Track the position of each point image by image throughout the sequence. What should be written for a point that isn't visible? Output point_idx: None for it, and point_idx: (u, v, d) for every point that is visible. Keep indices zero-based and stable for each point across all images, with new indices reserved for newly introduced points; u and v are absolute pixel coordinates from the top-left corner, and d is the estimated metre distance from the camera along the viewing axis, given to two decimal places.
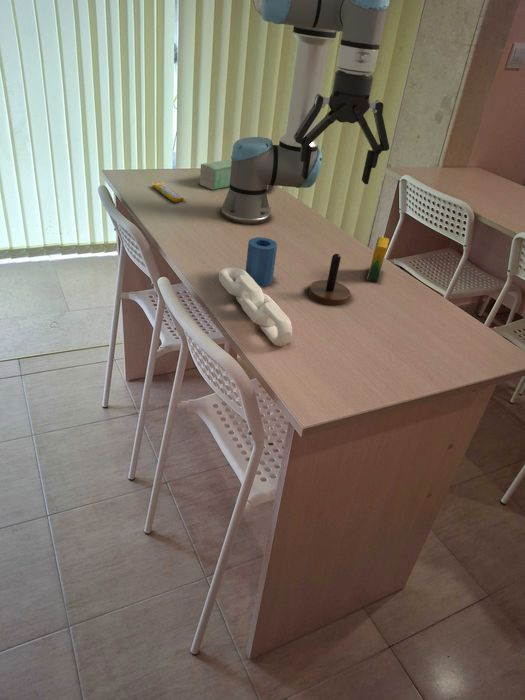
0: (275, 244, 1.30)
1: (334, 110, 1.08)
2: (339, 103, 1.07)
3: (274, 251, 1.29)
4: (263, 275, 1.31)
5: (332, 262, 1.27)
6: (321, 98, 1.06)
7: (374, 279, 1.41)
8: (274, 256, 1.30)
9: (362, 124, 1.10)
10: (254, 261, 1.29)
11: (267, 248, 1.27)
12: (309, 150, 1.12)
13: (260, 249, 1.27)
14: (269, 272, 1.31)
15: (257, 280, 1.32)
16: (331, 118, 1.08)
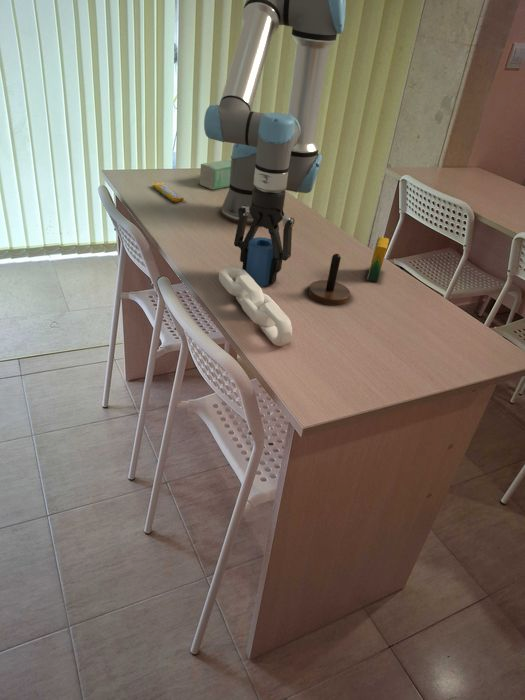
0: None
1: (253, 218, 1.26)
2: (255, 210, 1.25)
3: None
4: (263, 275, 1.31)
5: (332, 262, 1.27)
6: (240, 209, 1.26)
7: (374, 279, 1.41)
8: (274, 256, 1.30)
9: (269, 232, 1.26)
10: (254, 261, 1.29)
11: (267, 248, 1.27)
12: (244, 254, 1.32)
13: (260, 249, 1.27)
14: (269, 272, 1.31)
15: (257, 280, 1.32)
16: (251, 225, 1.27)
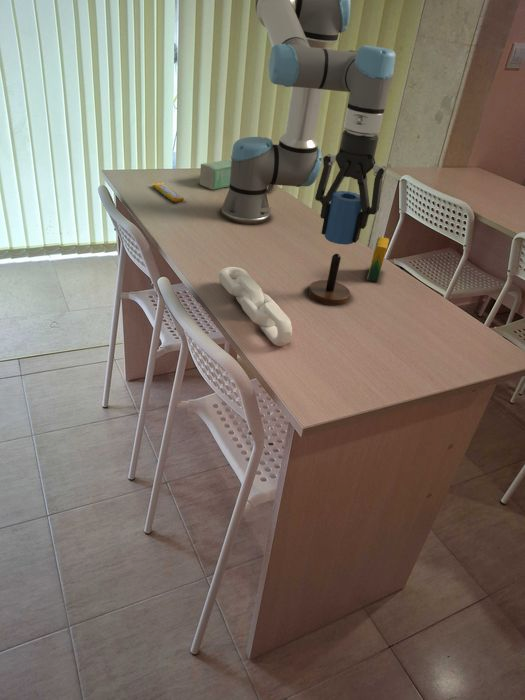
0: None
1: (340, 168, 1.16)
2: (343, 157, 1.14)
3: (360, 205, 1.18)
4: (347, 231, 1.20)
5: (332, 262, 1.27)
6: (326, 158, 1.16)
7: (374, 279, 1.41)
8: (360, 210, 1.19)
9: (358, 182, 1.15)
10: (339, 215, 1.18)
11: (354, 201, 1.17)
12: (327, 209, 1.21)
13: (347, 201, 1.16)
14: (354, 228, 1.20)
15: (340, 237, 1.21)
16: (338, 175, 1.16)
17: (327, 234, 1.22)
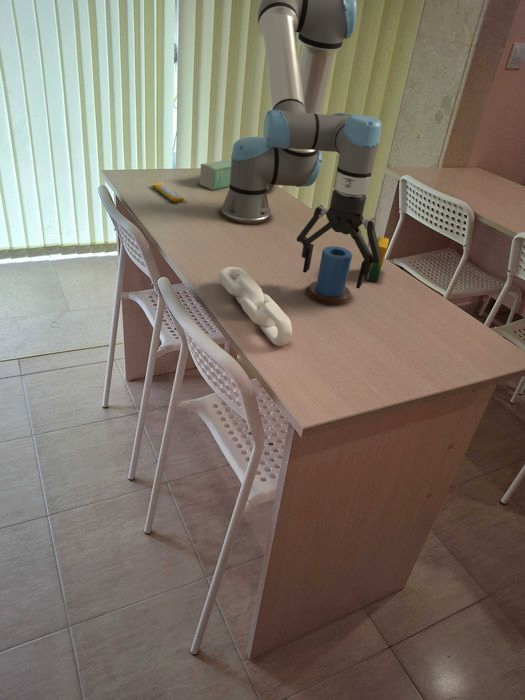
0: (350, 253, 1.26)
1: (329, 221, 1.22)
2: (333, 216, 1.21)
3: (349, 261, 1.25)
4: (337, 285, 1.28)
5: None
6: (318, 209, 1.22)
7: (374, 279, 1.41)
8: (349, 266, 1.27)
9: (352, 237, 1.21)
10: (329, 271, 1.26)
11: (343, 258, 1.24)
12: (307, 249, 1.28)
13: (336, 258, 1.24)
14: (343, 282, 1.28)
15: (331, 290, 1.28)
16: (325, 227, 1.23)
17: (318, 286, 1.30)
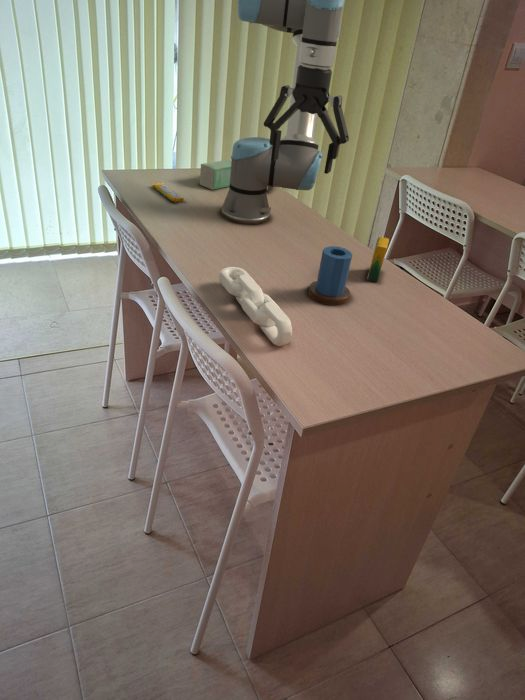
0: (350, 253, 1.26)
1: (295, 100, 1.20)
2: (299, 94, 1.19)
3: (349, 261, 1.25)
4: (337, 285, 1.28)
5: None
6: (284, 88, 1.20)
7: (374, 279, 1.41)
8: (349, 266, 1.27)
9: (319, 115, 1.19)
10: (329, 271, 1.26)
11: (343, 258, 1.24)
12: (275, 134, 1.26)
13: (336, 258, 1.24)
14: (343, 282, 1.28)
15: (331, 290, 1.28)
16: (291, 107, 1.21)
17: (318, 286, 1.30)
